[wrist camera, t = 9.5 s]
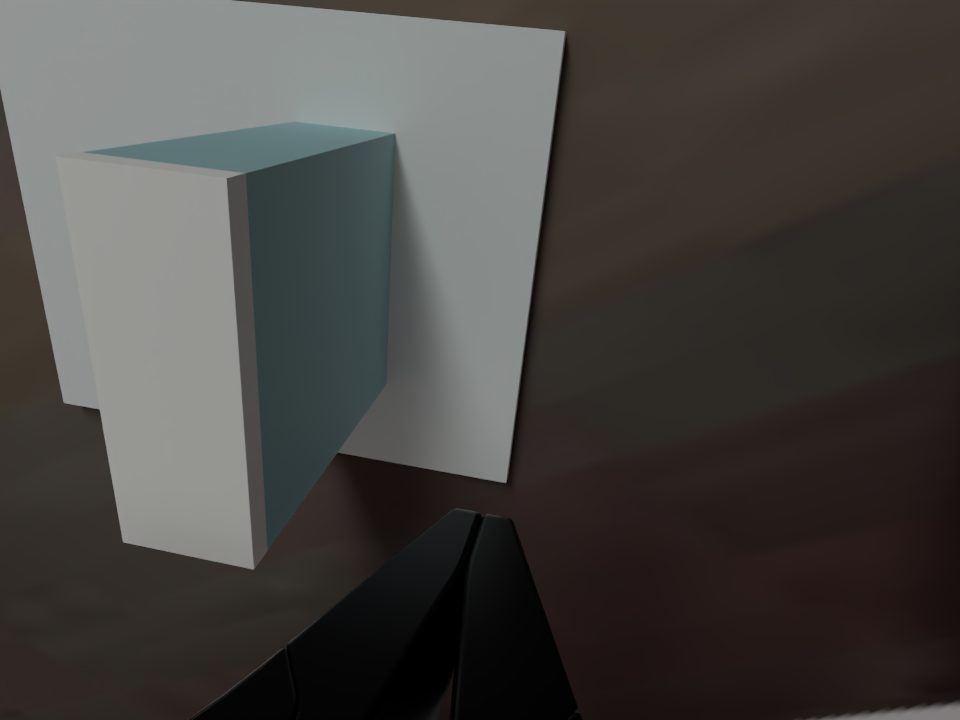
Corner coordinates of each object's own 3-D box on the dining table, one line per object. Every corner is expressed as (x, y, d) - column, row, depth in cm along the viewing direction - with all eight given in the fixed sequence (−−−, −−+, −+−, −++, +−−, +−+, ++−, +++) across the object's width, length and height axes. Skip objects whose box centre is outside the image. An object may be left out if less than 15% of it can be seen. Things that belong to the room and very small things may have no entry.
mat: (566, 32, 17) (565, 31, 16) (508, 473, 23) (505, 483, 22) (-5, -21, 19) (-23, -24, 19) (75, 395, 25) (63, 402, 24)
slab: (394, 133, 18) (226, 178, 10) (386, 384, 22) (254, 569, 13) (295, 121, 19) (55, 155, 11) (301, 370, 22) (122, 541, 14)
